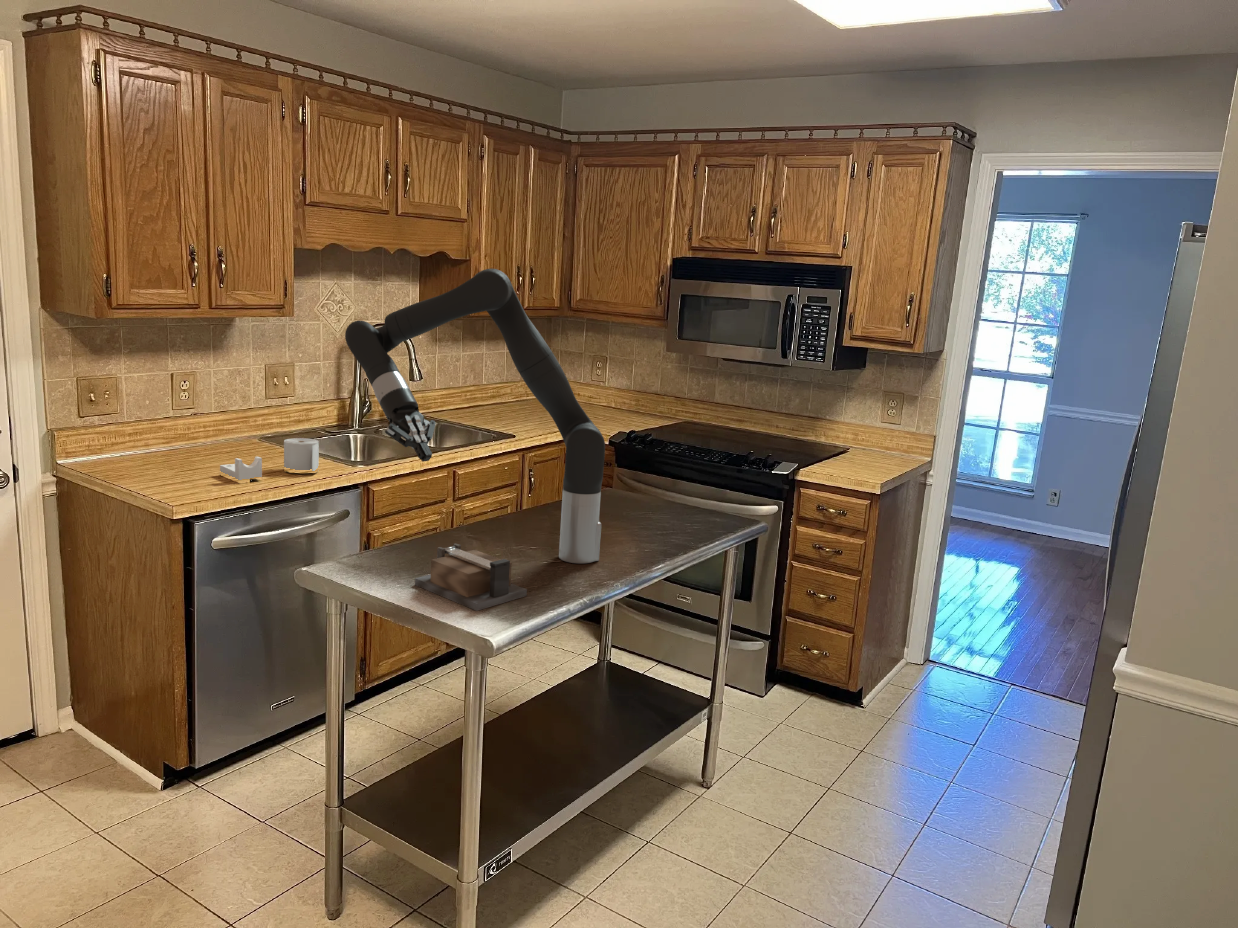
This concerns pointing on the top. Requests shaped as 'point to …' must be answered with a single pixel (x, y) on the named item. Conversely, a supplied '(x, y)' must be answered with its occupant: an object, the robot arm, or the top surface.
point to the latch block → (471, 580)
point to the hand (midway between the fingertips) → (427, 459)
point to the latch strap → (468, 557)
